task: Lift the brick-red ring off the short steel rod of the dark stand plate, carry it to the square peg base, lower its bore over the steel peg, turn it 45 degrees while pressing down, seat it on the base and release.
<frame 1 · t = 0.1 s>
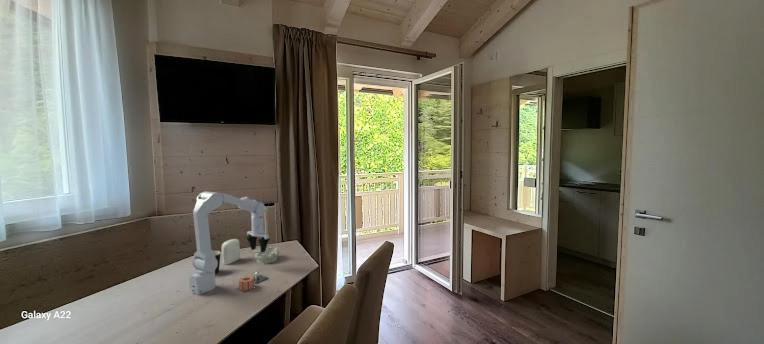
hand: (258, 250, 162), 10 cm above the table, fingers open, 7 cm apart
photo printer: (231, 262, 173), on the table
square peg base: (257, 281, 148), on the table
stand: (246, 289, 140), on the table
coffee mug: (209, 272, 158), on the table
flag stand: (267, 260, 176), on the table
ring: (246, 287, 140), point 1 cm above the table, touching stand
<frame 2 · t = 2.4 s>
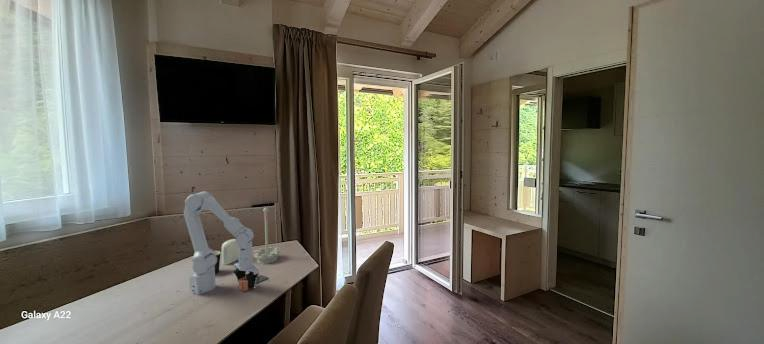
hand: (246, 286, 140), 2 cm above the table, fingers closed on ring, 6 cm apart
ring: (246, 287, 140), point 1 cm above the table, touching gripper, stand
everything else where it was.
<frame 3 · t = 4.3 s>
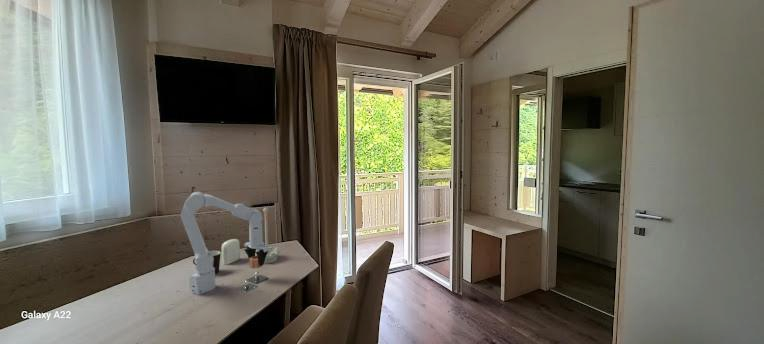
hand: (256, 263, 147), 9 cm above the table, fingers closed on ring, 6 cm apart
ring: (256, 265, 147), point 8 cm above the table, touching gripper
everything else where it was.
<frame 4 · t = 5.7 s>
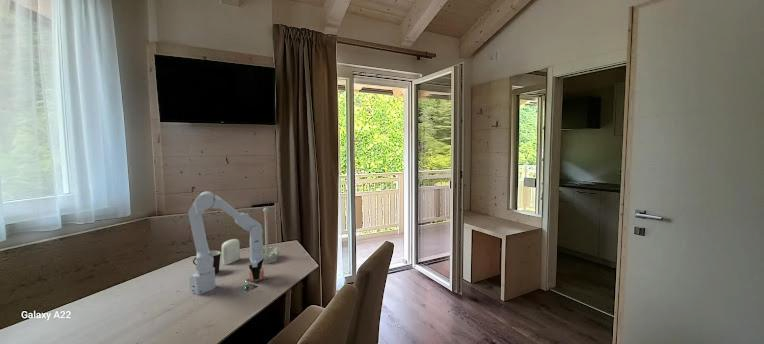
hand: (257, 276, 148), 3 cm above the table, fingers closed on ring, 6 cm apart
ring: (257, 278, 148), point 2 cm above the table, touching gripper
everything else where it was.
when the fingers open (2 cm above the table, at t = 6.4 s): ring stays where it is, resting on square peg base.
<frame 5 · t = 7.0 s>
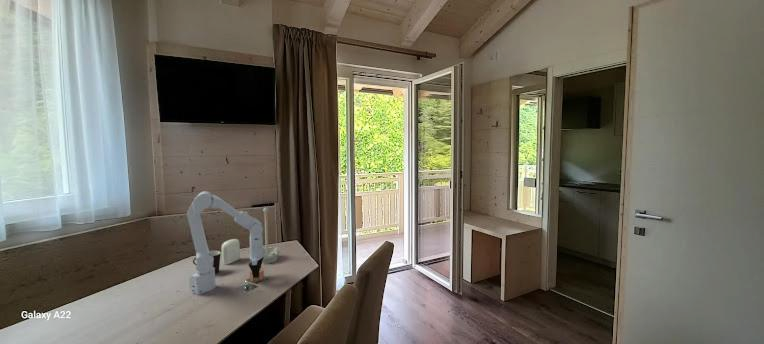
hand: (257, 274, 148), 4 cm above the table, fingers open, 7 cm apart
ring: (257, 278, 148), point 1 cm above the table, touching square peg base
everything else where it was.
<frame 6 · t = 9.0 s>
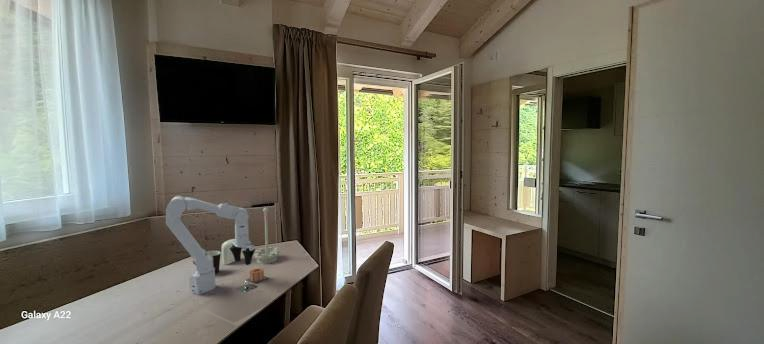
hand: (242, 262, 145), 10 cm above the table, fingers open, 7 cm apart
nothing on the table moved.
at the end: ring 0.1 cm off-centre on the square peg base, point 1.5 cm above the square peg base's base; the gripper is holding nothing; ring tilted 0° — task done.
